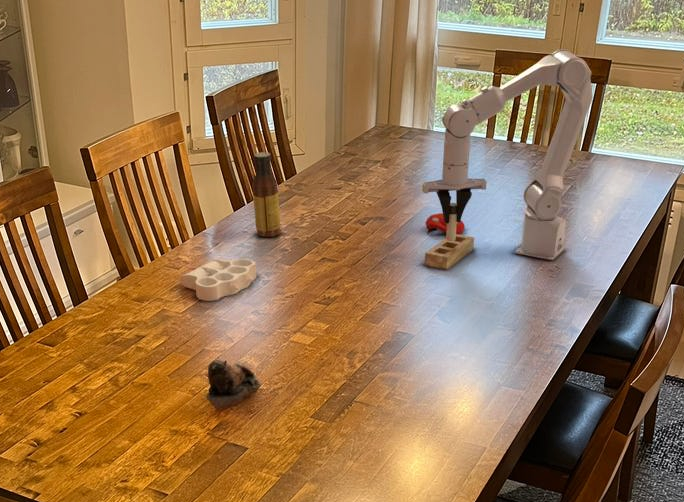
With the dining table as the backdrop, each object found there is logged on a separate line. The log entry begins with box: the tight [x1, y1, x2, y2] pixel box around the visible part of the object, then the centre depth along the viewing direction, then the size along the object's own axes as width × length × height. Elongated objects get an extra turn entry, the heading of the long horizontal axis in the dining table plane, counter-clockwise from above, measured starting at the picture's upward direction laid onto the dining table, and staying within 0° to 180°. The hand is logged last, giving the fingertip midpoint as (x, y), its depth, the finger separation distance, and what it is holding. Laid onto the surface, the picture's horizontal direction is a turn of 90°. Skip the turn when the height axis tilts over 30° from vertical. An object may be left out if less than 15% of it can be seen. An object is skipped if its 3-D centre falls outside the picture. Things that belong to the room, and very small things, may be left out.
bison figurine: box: [205, 359, 262, 410], centre depth 180 cm, size 12×7×10 cm, turn 150°
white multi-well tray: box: [179, 258, 257, 302], centre depth 226 cm, size 3×18×15 cm
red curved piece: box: [425, 212, 466, 235], centre depth 252 cm, size 12×4×10 cm
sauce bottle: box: [252, 151, 282, 238], centre depth 247 cm, size 7×6×20 cm
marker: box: [445, 202, 458, 241], centre depth 232 cm, size 2×2×8 cm
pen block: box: [424, 234, 475, 271], centre depth 237 cm, size 6×15×3 cm, turn 147°
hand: (452, 221), depth 232 cm, fingers closed on marker, 2 cm apart
